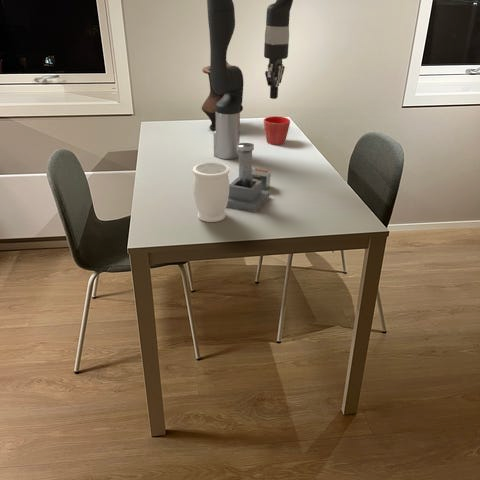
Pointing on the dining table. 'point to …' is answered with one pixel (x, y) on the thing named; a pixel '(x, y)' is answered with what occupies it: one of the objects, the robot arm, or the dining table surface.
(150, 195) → the dining table surface
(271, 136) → the flower pot
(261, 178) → the block
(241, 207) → the socket
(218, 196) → the jar
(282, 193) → the dining table surface
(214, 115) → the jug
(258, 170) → the lock pin
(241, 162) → the cylinder
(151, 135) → the dining table surface
